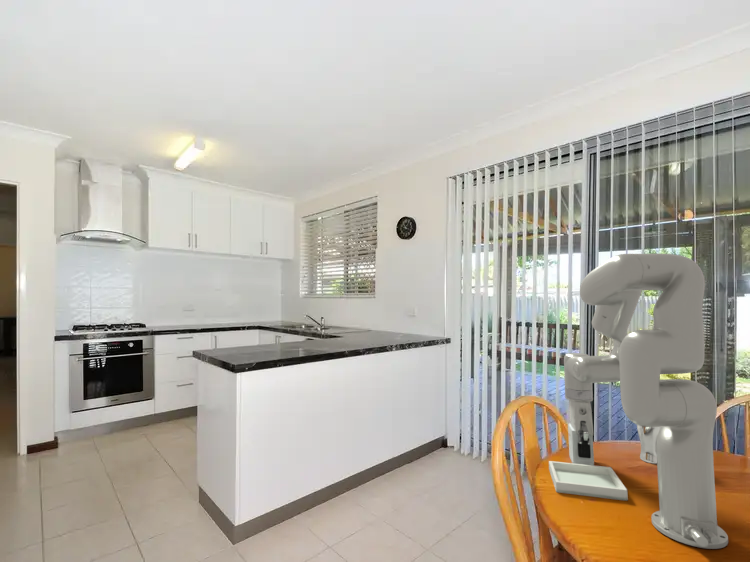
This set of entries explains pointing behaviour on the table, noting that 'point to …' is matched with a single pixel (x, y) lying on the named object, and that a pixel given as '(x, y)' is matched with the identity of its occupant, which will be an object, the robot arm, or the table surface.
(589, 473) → the carrier tray
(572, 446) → the small box
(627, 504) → the table surface
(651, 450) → the beer glass
